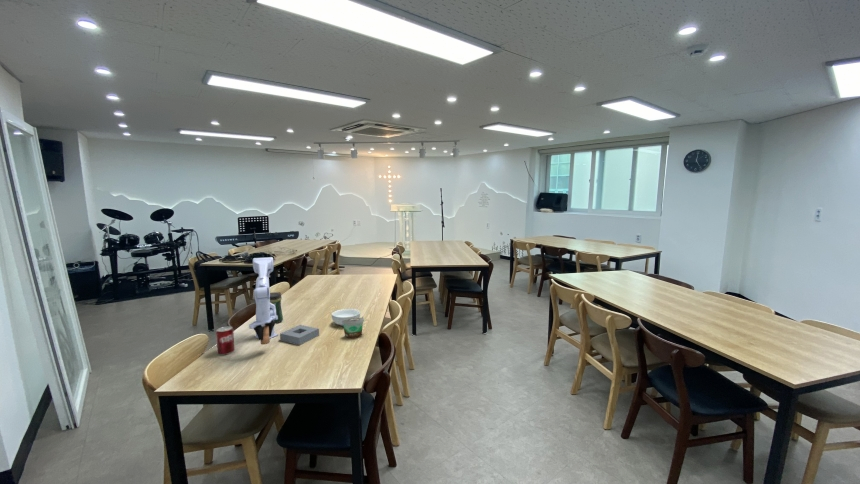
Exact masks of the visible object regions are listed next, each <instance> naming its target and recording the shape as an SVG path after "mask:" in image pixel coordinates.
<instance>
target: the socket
mask: <svg viewBox="0 0 860 484" xmlns="http://www.w3.org/2000/svg"><path fill="white" fill-rule="evenodd" d="M319 336H320V328H318V327H314V326H309V325H305V324H304V325H302V324H299V325H296V326H294V327H292V328H290V329H287V330H285V331H283V332H280V333H279V338H280V339H279V340H280V341H281V342H284V343H289V344H292V345H296V346H297V345H298V346H301V345H303V344H305V343H307V342H309V341H311V340H313V339H315V338H317V337H319Z"/></svg>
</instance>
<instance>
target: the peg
mask: <svg viewBox="0 0 860 484" xmlns="http://www.w3.org/2000/svg"><path fill="white" fill-rule="evenodd" d="M262 327H264V330H263V340H260V344H261V345H267V344H270V339H271V338H270V337H269V326H262Z"/></svg>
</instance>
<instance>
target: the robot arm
mask: <svg viewBox="0 0 860 484" xmlns="http://www.w3.org/2000/svg"><path fill="white" fill-rule="evenodd" d="M252 269H253V271H254V273H255V274H258V276H257V278H256V280H255V288H254V291H253V292H254V293H253V294H254V295H253V296H254V300H255V305H256V306H255V307H256V308H255V321H253V322H252V323H249V324H248V328H249V329H250V330H253V331H254V332H255V336H254V338H256V339H258V340H259V341H261V340H263V330H264V327H262V326H269V337H270V339H271V338H275V337H277V336H278V335H279V333H276V332H275V325H276V323H275V322H274V320H277V319H278V316H277V315H276V307H275V305H274V304H272V303H270V293H271V289H270V288H271V287H270V279H269V277H270V274H271V273H272V272H274V258H273V256H270V257H268V256H267V257H254V258H252ZM270 308H272V309H270Z"/></svg>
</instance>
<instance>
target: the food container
mask: <svg viewBox="0 0 860 484" xmlns="http://www.w3.org/2000/svg"><path fill="white" fill-rule="evenodd" d="M364 318H365V317H364V316H362V317H360V318H353V319H349V320H342V323H343V326H342V327H343V332H344V337H345V338H348V339H356V338H359V337H361V336H363V324H364V323H363V322H364V321H365V319H364Z"/></svg>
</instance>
